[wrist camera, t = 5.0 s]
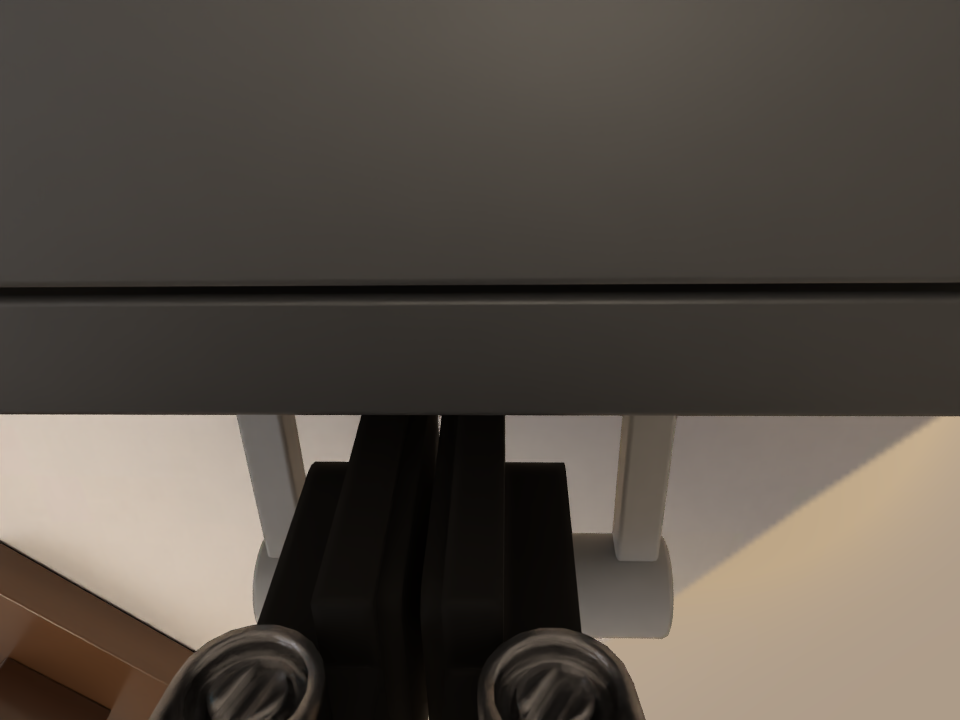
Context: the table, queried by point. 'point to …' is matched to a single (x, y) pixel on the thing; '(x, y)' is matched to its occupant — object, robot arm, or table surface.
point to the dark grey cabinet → (478, 142)
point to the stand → (75, 651)
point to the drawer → (489, 377)
